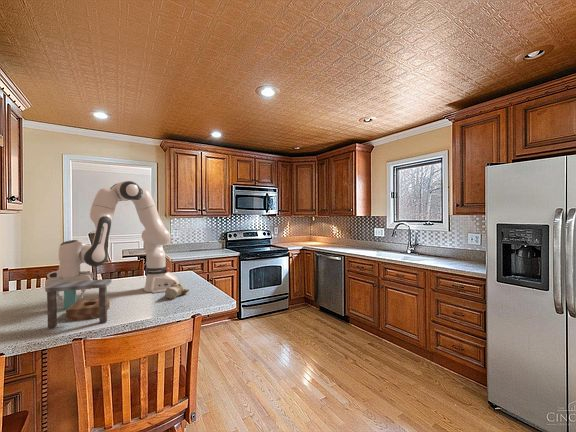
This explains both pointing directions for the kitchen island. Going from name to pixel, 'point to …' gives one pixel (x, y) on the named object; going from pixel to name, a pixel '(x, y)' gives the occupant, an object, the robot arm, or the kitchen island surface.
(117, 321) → the kitchen island surface
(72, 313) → the grey miniature side table
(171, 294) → the ceramic sculpture
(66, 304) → the peg
